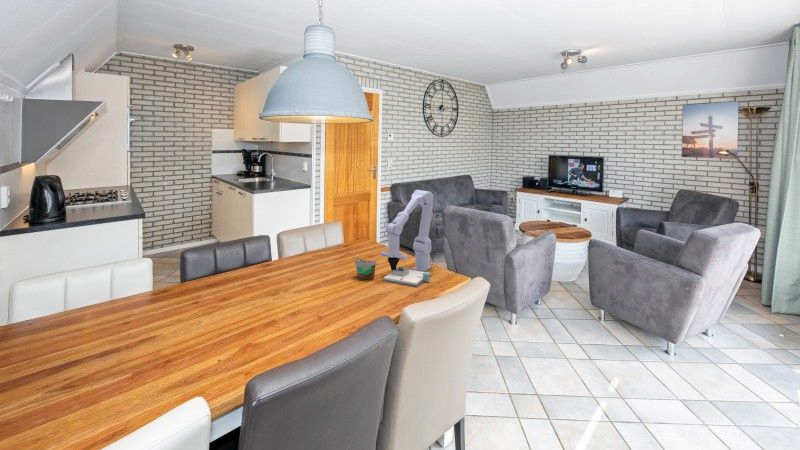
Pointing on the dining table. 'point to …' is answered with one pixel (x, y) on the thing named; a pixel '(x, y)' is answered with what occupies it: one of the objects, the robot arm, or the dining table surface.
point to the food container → (365, 269)
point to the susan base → (404, 283)
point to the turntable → (410, 277)
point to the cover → (401, 271)
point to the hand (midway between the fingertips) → (393, 271)
